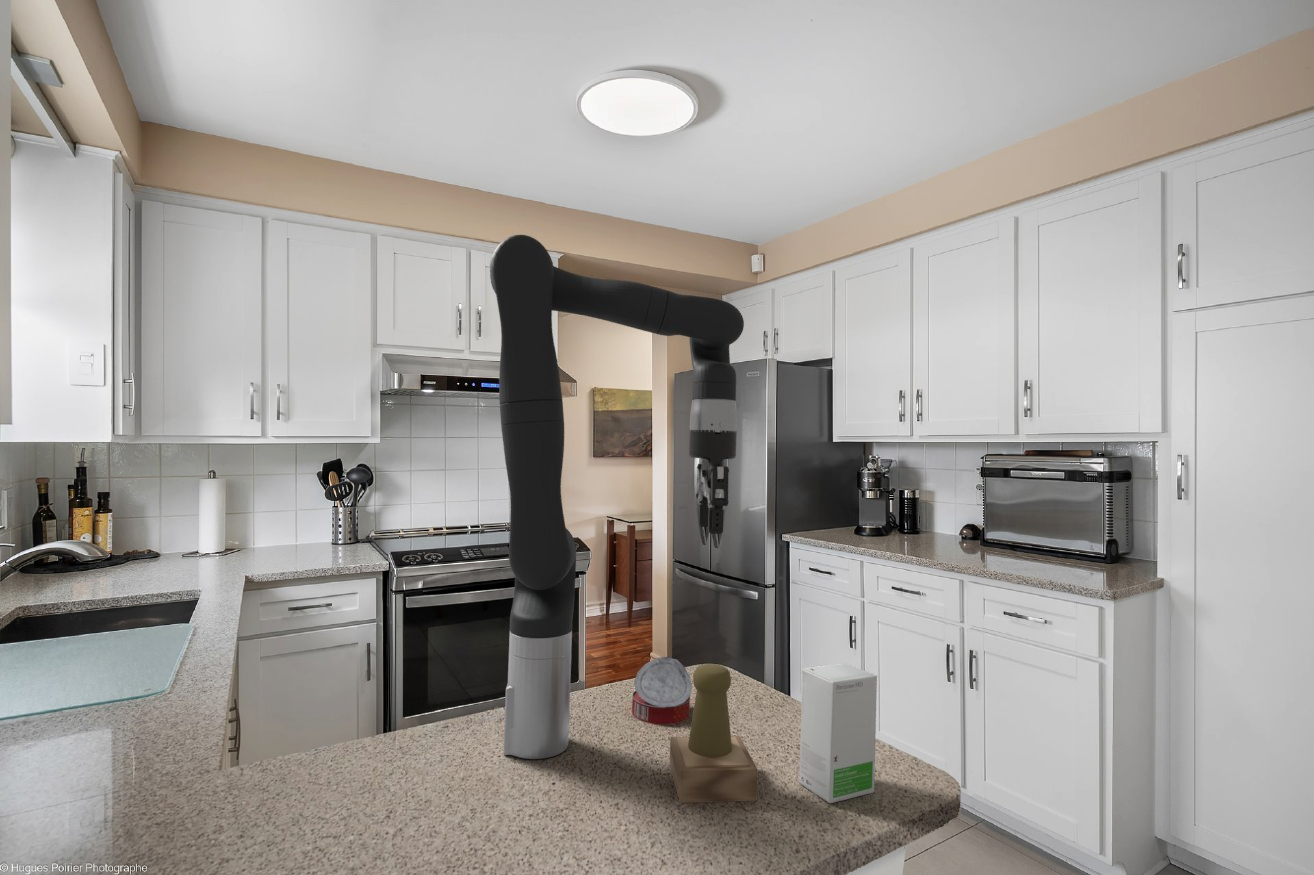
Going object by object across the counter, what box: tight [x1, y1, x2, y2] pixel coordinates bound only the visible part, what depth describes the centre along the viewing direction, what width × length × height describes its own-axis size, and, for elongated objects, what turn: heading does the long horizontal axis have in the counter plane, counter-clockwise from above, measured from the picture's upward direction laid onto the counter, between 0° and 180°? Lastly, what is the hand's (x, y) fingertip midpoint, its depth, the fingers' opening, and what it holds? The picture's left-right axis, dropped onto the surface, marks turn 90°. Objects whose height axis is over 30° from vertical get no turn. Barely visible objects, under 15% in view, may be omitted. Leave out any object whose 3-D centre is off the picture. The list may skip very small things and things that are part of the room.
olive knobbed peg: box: [688, 663, 732, 757], centre depth 92 cm, size 6×6×11 cm
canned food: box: [631, 656, 693, 726], centre depth 114 cm, size 11×10×10 cm
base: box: [669, 735, 759, 804], centre depth 90 cm, size 10×10×4 cm
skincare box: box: [798, 663, 878, 804], centre depth 90 cm, size 8×7×16 cm
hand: (710, 530), depth 107 cm, fingers open, 8 cm apart
